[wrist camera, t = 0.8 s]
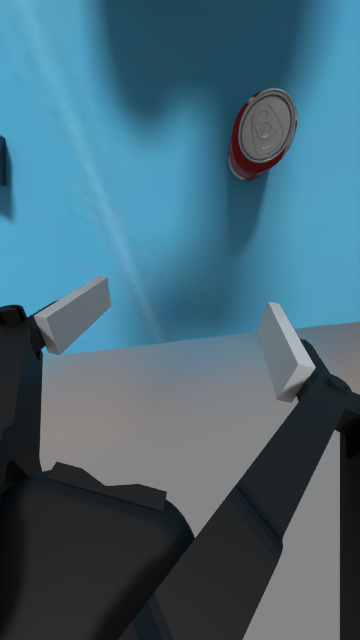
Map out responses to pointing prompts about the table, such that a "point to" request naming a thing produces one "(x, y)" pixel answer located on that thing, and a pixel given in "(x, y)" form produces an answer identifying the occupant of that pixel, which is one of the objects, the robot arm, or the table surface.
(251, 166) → the soda can
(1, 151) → the console
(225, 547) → the robot arm
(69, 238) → the table surface
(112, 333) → the table surface
